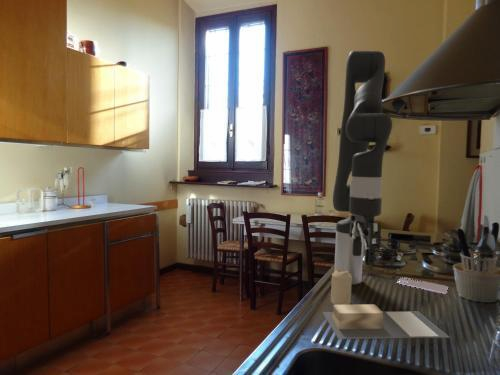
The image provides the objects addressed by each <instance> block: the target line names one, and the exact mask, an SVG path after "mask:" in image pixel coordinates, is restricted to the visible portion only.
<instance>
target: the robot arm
mask: <svg viewBox="0 0 500 375" xmlns="http://www.w3.org/2000/svg"><path fill="white" fill-rule="evenodd" d="M385 71H386V57H385V54H384V52H382V51H379V50H351V51H350V52H349V54H348V55H347V59H346V67H345V80H344V81H345V82H344V83H345V84H344V102H343V111H342V119H341V125H340V126H341V127H340V135H339V137H340V138H339V148H338V149H339V150H338V160H337V161H338V162H337V169H336V176H335V181H334V187H333V193H332V205H333V208H334V210H335V211H337V212H342V213H343V212H345V213H346V212H347V213H349V214H351V215H350V216H348V217H347V218H345V219H342V220H339V221H337V223H336V228H335V246H334V247H335V250H334V268H333V269H334V270H333V271H334V272H335V271H336V270H337V269H339V270H344V269H345V270H346V271H348V272H349V274H350V275H351V276H352V283H351V286H352V285H358V284H361V283H362V276H363V264H365V265H366V266H374V265H375V264H376V263H375V261H376V251H377V250H380V249H381V241H382V240H381V235H382V233H381V232H382V230H381V229H382V225H381V223H380V222H375V221H376V220H375V217H378V216H381V215H382V202H383V201H382V200H383V199H382V197H383V182H382V180H383V179H382V174H383V159H384V154H385V150H386V147H387V145H388V142H389V139H390V136H391V134H392V129H393V121H392V119H391V117H390V115H389V114H387V113H385V112H383V98H382V94H383V93H382V92H383V87H384V81H385V80H384V79H385ZM357 83H358V84H362V85H361V86H359V88H358V89H356V84H357ZM370 143H375V144H374V147H373V148H372V149H370V150H368V149H369V147H370ZM350 175H351V178H350V184H348V181H349V177H350ZM363 258H364V261H363ZM363 262H364V263H363ZM334 272H333V273H334Z"/></svg>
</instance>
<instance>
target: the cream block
mask: <svg viewBox="0 0 500 375" xmlns="http://www.w3.org/2000/svg"><path fill="white" fill-rule="evenodd" d="M332 312H333V321H334V323H335V324H336V326H337V327H338V329H382V327H383V312H382V310H381V308H379V307H378V306H377V305H376V304H373V303H372V304H350V305H334V304H332Z"/></svg>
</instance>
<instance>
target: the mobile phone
mask: <svg viewBox="0 0 500 375" xmlns="http://www.w3.org/2000/svg"><path fill="white" fill-rule="evenodd" d="M401 277H402V278H401ZM401 277H400V278H399V279H398V280H397V281H396V284H397V283H399V284H398V285H400V284H402V285H401V286H405V285H407V286H406V287H409V286H411V287H410V288H414V287H416V288H415V289H419V288H421V289H420V290H423V289H424V291H427V292H433V293H437V294H441V293H442V295H446V294H447V293H448V291H449V289H448V288H449V286H447V285H444V284H439V283H435V282H429V281H424V280H420V281H418V280H419V279H415V281H414V280H413V279H414V278H409V277H405V276H401ZM403 277H404V278H403ZM407 279H408V280H407ZM411 279H412V280H411ZM416 280H417V281H416ZM421 281H422V282H421ZM447 290H448V291H447Z"/></svg>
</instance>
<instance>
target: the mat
mask: <svg viewBox="0 0 500 375" xmlns="http://www.w3.org/2000/svg"><path fill="white" fill-rule="evenodd" d="M381 311H382V310H381ZM382 312H383V327H382V329H338V327H337V326H336V324H335V323H334V321H333V311H322V312H321V313H322V314H323V316H324V317H325V320H326V321H327V323H328V325H329V326H330V328H331V329H332V331H333V332H334V334H335V337H336V338H337V339H338V340H357V339H359V340H360V339H361V340H365V339H366V340H367V339H369V340H370V339H372V340H373V339H379V340H381V339H382V340H383V339H450V338H451V336H449V335H448V334H447V333H445V331H444V330H442V329H440V328H439V327H438V326H437V325H436V324H435V323H434V322H432V321H431V320H430V319H428V318H427V317H426V316H425V315H424V314H422V313H421V312H420V311H418V310H417V311H416V310H412V311H411V310H410V311H409V310H408V311H406V310H405V311H404V310H401V311H395V310H394V311H390V310H389V311H388V310H387V311H382Z"/></svg>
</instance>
